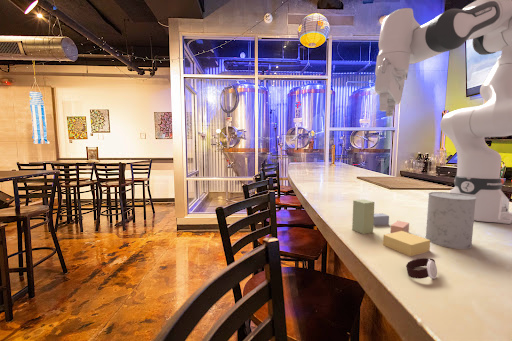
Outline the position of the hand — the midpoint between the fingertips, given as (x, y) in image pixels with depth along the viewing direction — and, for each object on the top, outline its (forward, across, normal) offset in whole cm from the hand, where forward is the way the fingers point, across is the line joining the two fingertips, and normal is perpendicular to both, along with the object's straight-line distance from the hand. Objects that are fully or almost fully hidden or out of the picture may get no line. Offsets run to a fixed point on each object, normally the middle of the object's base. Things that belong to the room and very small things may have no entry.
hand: (386, 113), depth 73 cm
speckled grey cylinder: (+35, -2, -19) cm, 39 cm away
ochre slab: (+36, -14, -11) cm, 40 cm away
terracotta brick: (+35, -3, -8) cm, 36 cm away
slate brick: (+35, +2, -1) cm, 35 cm away
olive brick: (+36, -8, +1) cm, 37 cm away
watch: (+36, -26, -15) cm, 47 cm away
